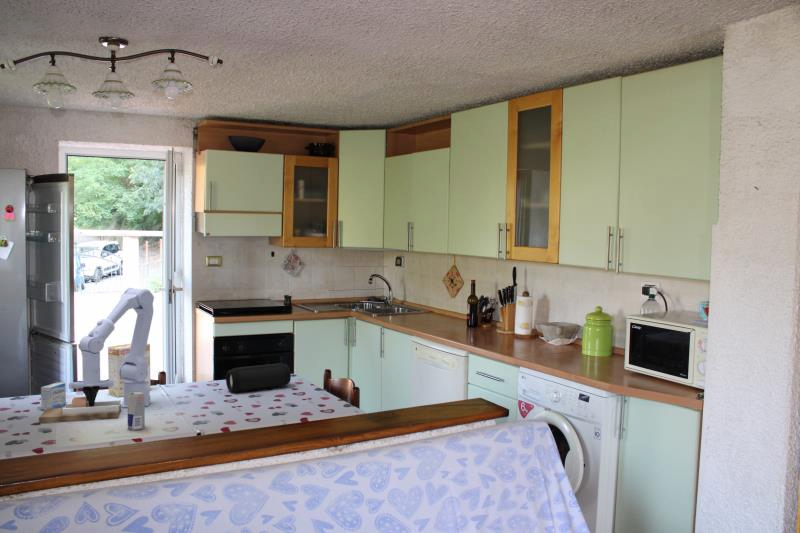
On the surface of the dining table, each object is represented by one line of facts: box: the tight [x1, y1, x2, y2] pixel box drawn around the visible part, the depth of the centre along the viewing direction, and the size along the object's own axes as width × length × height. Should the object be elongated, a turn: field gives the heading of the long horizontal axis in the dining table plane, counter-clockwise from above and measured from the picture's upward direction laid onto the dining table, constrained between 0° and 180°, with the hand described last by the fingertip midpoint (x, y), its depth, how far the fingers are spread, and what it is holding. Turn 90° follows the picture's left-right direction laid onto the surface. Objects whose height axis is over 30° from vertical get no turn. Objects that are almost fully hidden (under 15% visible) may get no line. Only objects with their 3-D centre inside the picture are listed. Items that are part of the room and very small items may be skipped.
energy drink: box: [126, 391, 146, 431], centre depth 231 cm, size 5×5×12 cm
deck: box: [38, 403, 122, 424], centre depth 245 cm, size 25×12×2 cm, turn 107°
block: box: [71, 396, 88, 408], centre depth 244 cm, size 4×4×4 cm
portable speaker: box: [225, 363, 292, 393], centre depth 289 cm, size 26×10×10 cm, turn 123°
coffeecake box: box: [107, 342, 151, 398], centre depth 280 cm, size 15×7×20 cm, turn 144°
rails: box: [62, 399, 121, 415], centre depth 246 cm, size 18×8×2 cm, turn 107°
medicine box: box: [40, 382, 67, 411], centre depth 255 cm, size 8×4×9 cm, turn 168°
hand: (91, 407), depth 245 cm, fingers closed
